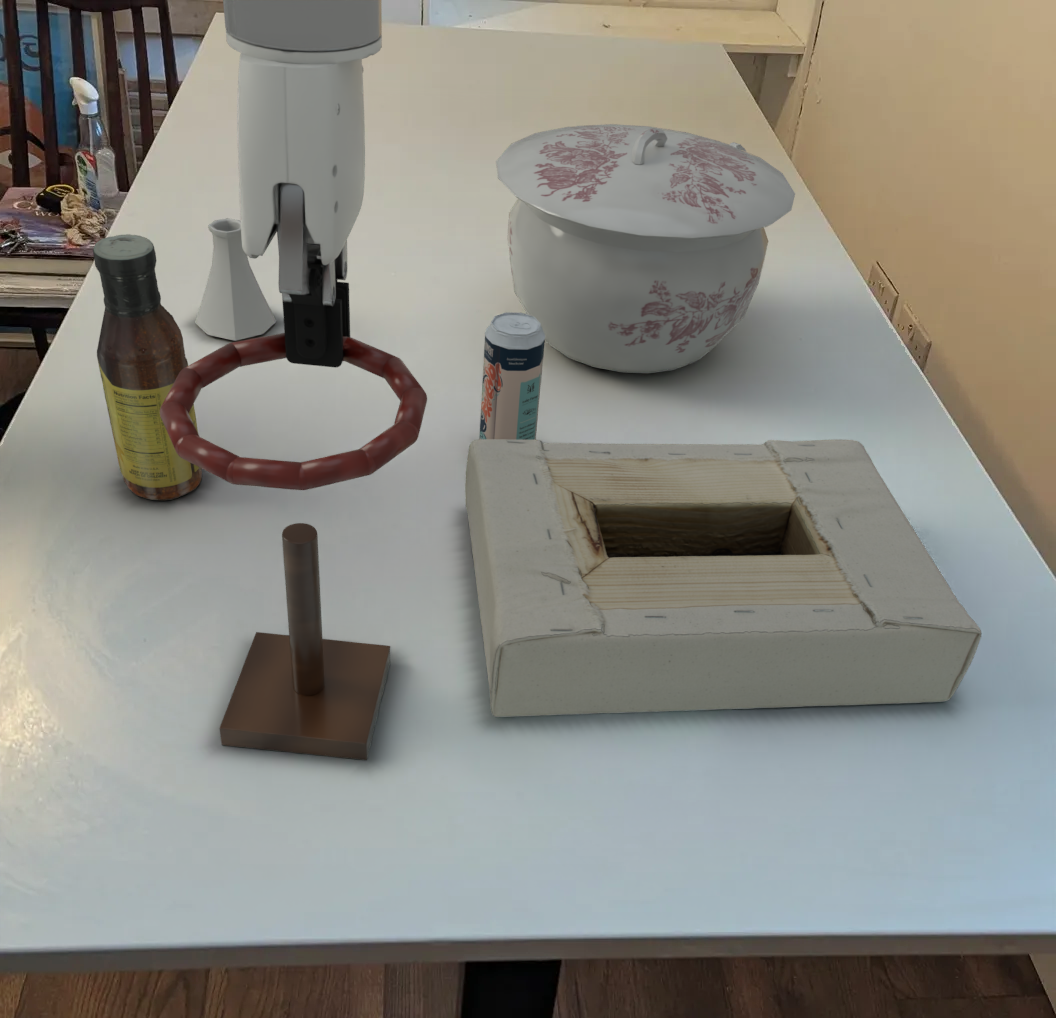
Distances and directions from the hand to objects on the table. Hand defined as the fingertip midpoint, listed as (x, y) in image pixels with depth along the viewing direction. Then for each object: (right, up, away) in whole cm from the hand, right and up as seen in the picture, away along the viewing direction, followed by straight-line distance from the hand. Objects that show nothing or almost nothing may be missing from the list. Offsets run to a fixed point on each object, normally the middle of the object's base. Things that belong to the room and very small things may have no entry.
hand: (318, 352), depth 69 cm
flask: (-16, +12, +46) cm, 51 cm away
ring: (0, -4, -5) cm, 6 cm away
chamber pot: (+22, +12, +50) cm, 56 cm away
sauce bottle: (-17, -5, +25) cm, 30 cm away
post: (-2, -21, +7) cm, 22 cm away
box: (+24, -15, +18) cm, 34 cm away
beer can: (+10, -2, +32) cm, 34 cm away
